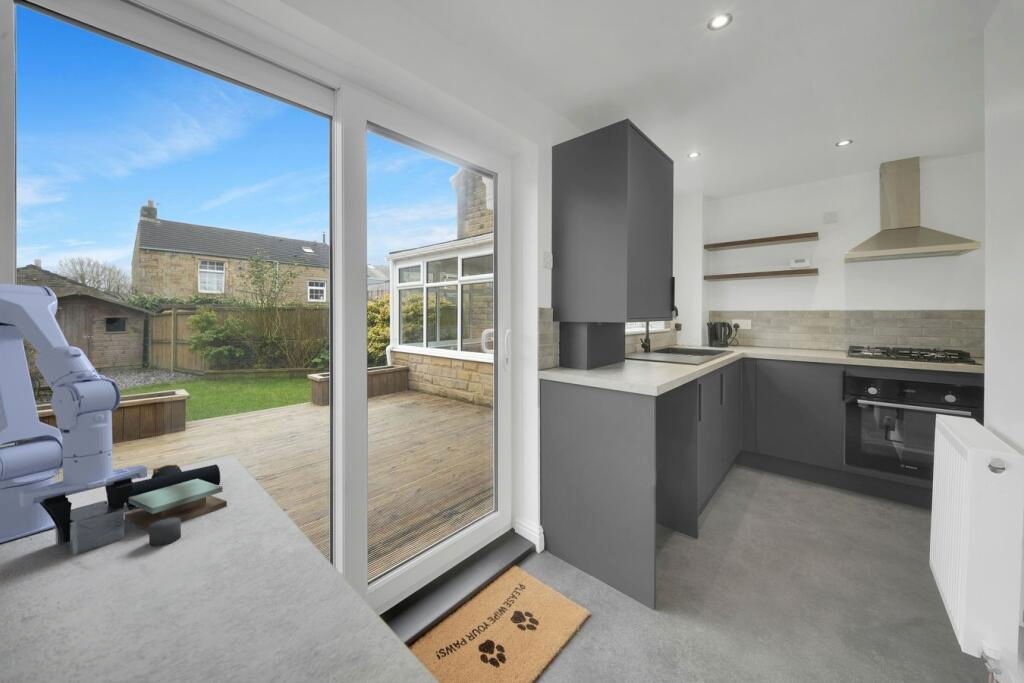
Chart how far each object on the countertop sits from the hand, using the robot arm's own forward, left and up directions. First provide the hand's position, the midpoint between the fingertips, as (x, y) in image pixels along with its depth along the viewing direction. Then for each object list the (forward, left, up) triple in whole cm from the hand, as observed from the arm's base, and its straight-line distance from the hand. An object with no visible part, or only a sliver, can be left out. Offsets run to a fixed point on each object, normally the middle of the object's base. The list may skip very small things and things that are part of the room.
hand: (90, 532), depth 66 cm
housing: (0, 0, -1) cm, 1 cm away
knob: (+6, -11, -2) cm, 13 cm away
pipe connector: (+16, +14, -2) cm, 22 cm away
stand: (+12, 0, -1) cm, 12 cm away
